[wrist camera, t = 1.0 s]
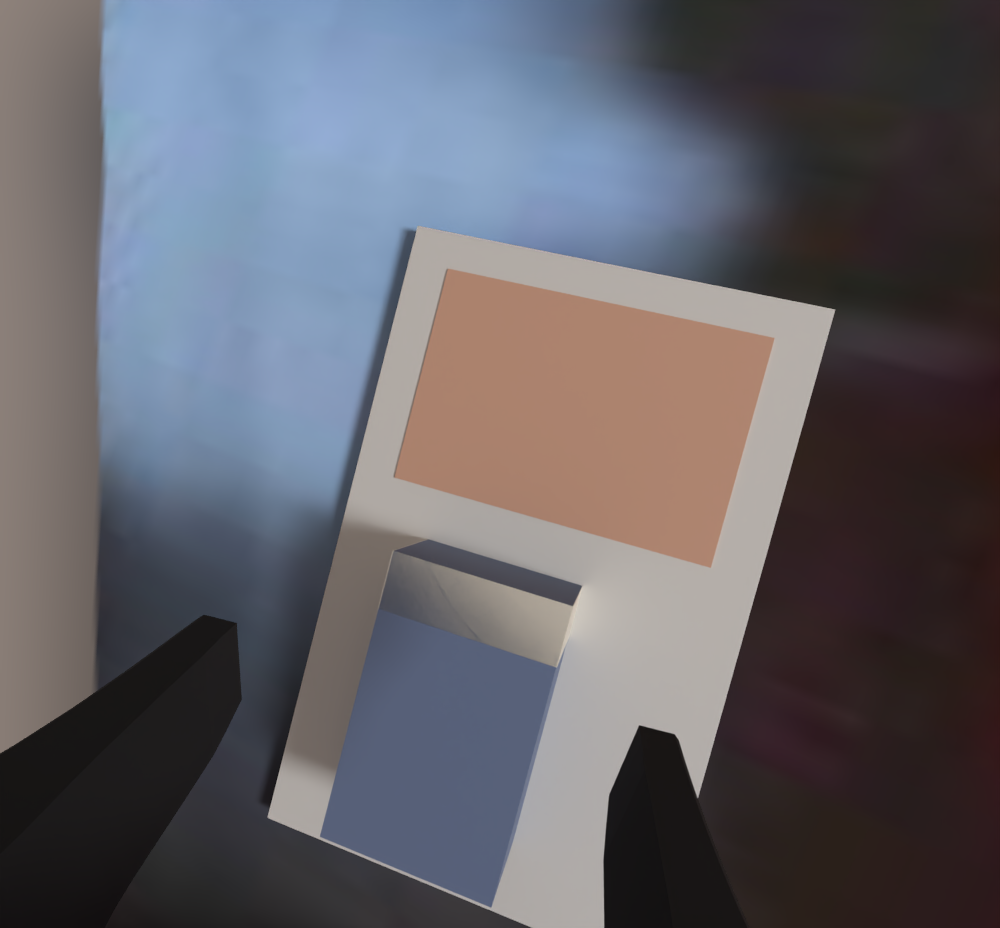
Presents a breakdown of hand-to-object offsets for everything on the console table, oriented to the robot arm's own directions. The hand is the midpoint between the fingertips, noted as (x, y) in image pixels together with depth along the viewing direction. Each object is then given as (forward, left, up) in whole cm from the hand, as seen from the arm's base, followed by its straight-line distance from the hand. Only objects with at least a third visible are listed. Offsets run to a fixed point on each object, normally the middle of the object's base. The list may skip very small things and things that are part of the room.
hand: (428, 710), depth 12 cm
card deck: (-4, +1, -11) cm, 11 cm away
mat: (0, 0, -11) cm, 11 cm away
